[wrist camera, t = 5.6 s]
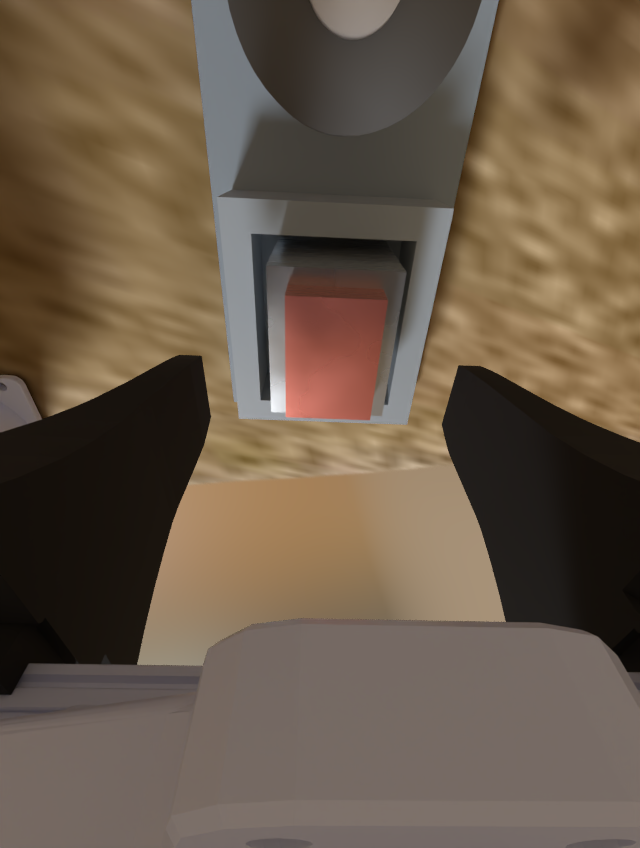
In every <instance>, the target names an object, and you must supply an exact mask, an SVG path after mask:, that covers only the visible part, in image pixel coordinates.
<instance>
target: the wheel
mask: <svg viewBox="0 0 640 848" xmlns="http://www.w3.org/2000/svg"><path fill="white" fill-rule="evenodd" d="M481 1H482V0H228V5H229V10H230V13H231V17H232V20H233V23H234V27H235V30H236V33H237V36H238V38H239V41H240V43H241V46H242V48H243V51H244V53H245V55H246V57H247V59H248V61H249V63H250V65H251V67H252V68H253V70H254V72H255V74H256V75H257V77H258V78H259V80H260V81H261V83H262V84H263V86H264V87H265V88H266V90H267V91H268V92H269V93H270V94H271V95H272V97H273V98H274V99H275V100H276V101H277V102H278V103H279V104H280V105H281V106H282V108H284V109H285V110H286V111H287V112H288V113H289V114H290V115H291V116H292V117H293V118H295V119H296V120H298V121H299V122H301V123H302V124H304V125H305V126H307V127H309V128H311V129H313V130H315V131H318V132H321V133H324V134H328V135H333V136H340V137H350V136H359V135H364V134H369V133H372V132H376V131H378V130H381V129H384V128H387V127H389V126H391V125H393V124H395V123H397V122H398V121H400V120H402V119H404V118H405V117H406V116H408V115H409V114H411V113H412V112H413V111H415V110H416V109H417V108H418V107H419V106H420V105H421V104H423V103H424V102H425V101H426V100H427V99H428V98H429V97H430V96H431V95H432V94H433V92H434V91H435V90H436V89H437V88H438V87H439V85H440V84H441V83H442V82H443V80H444V79H445V77H446V76H447V74H448V73H449V72H450V70H451V69H452V67H453V66H454V64H455V62H456V60H457V59H458V57H459V55H460V53H461V51H462V49H463V48H464V46H465V43H466V41H467V39H468V37H469V34H470V32H471V30H472V27H473V25H474V22H475V19H476V16H477V13H478V10H479V7H480V4H481Z"/></svg>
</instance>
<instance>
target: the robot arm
mask: <svg viewBox="0 0 640 848" xmlns="http://www.w3.org/2000/svg"><path fill="white" fill-rule="evenodd" d="M2 383H3V384H4V385H5V386H4V385H3V384H2ZM210 418H211V415H210V408H209V402H208V395H207V389H206V382H205V375H204V369H203V362H202V356H192V355H178V356H175V357H173V358H171V359H169V360H167V361H165V362H163V363H161V364H159V365H157V366H155V367H154V368H152V369H150V370H148V371H146V372H145V373H143V374H141V375H139V376H137V377H135V378H134V379H132V380H130V381H128V382H126V383H124V384H122V385H120V386H118V387H116V388H114V389H112V390H110V391H108V392H106V393H104V394H102V395H100V396H98V397H96V398H94V399H92V400H90V401H87V402H85V403H83V404H80V405H78V406H76V407H73V408H71V409H68V410H66V411H63V412H60V413H58V414H55V415H53V416H50V417H47V418H44V419H42V418H41V416H40V414H39V412H38V410H37V408H36V406H35V403H34V401H33V399H32V397H31V395H30V393H29V391H28V389H27V386H26V384H25V383H24V381H23V380H22V379H20V378H19V377H17V376H13V375H0V848H640V443H639V442H636V441H634V440H631V439H628V438H626V437H623V436H621V435H618V434H616V433H614V432H611V431H609V430H606V429H604V428H602V427H599V426H597V425H594V424H592V423H590V422H588V421H586V420H583V419H581V418H579V417H577V416H575V415H573V414H571V413H569V412H567V411H565V410H563V409H561V408H559V407H557V406H555V405H553V404H551V403H549V402H548V401H546V400H544V399H542V398H540V397H538V396H536V395H535V394H533V393H531V392H529V391H527V390H526V389H524V388H522V387H520V386H519V385H517V384H515V383H513V382H511V381H510V380H508V379H506V378H504V377H502V376H501V375H499V374H497V373H495V372H493V371H491V370H488V369H486V368H484V367H481V366H461V365H459V366H458V369H457V373H456V376H455V380H454V383H453V387H452V391H451V394H450V398H449V401H448V405H447V408H446V412H445V415H444V419H443V422H442V427H443V431H444V436H445V440H446V444H447V447H448V451H449V454H450V457H451V459H452V461H453V464H454V466H455V468H456V471H457V473H458V476H459V478H460V480H461V482H462V485H463V487H464V489H465V492H466V494H467V496H468V499H469V501H470V503H471V506H472V508H473V510H474V512H475V515H476V517H477V520H478V523H479V525H480V528H481V531H482V534H483V538H484V541H485V544H486V548H487V551H488V554H489V558H490V561H491V565H492V568H493V572H494V576H495V579H496V583H497V587H498V591H499V595H500V599H501V602H502V607H503V612H504V616H505V620H506V622H475V621H422V620H367V619H365V620H364V619H363V620H362V619H313V618H311V619H310V618H300V619H291V620H283V621H274V622H266V623H257V624H251V625H250V626H248V627H246V628H244V629H242V630H240V631H238V632H236V633H234V634H232V635H230V636H228V637H226V638H224V639H222V640H220V641H219V642H217V643H216V644H215V645H213V646H212V647H210V648H209V649H208V651H207V654H206V657H205V660H204V663H203V666H176V665H175V666H172V665H171V666H170V665H137V662H138V658H139V653H140V648H141V643H142V638H143V634H144V629H145V625H146V621H147V616H148V612H149V608H150V604H151V600H152V596H153V591H154V587H155V583H156V580H157V576H158V572H159V568H160V564H161V561H162V557H163V553H164V549H165V546H166V543H167V539H168V536H169V533H170V529H171V525H172V522H173V519H174V517H175V514H176V511H177V508H178V506H179V503H180V501H181V499H182V496H183V494H184V491H185V489H186V487H187V485H188V482H189V480H190V477H191V475H192V473H193V470H194V468H195V466H196V463H197V461H198V458H199V456H200V453H201V451H202V448H203V446H204V443H205V439H206V435H207V431H208V427H209V422H210Z"/></svg>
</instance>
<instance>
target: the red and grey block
mask: <svg viewBox="0 0 640 848" xmlns="http://www.w3.org/2000/svg"><path fill="white" fill-rule="evenodd" d="M406 273H407V272H406V271H405V269H404V268H403V266H402V265H401V263H400V262H399V260H398V259H397V257H396V256H395V255H394V253H393V252H392V250H391V249H390V247H389V246H388V244H387V243H386V241H385V240H377V239H355V238H334V237H313V236H292V235H280V236H279V238H278V241H277V243H276V245H275V247H274V249H273V251H272V254H271V256H270V258H269V260H268V262H267V264H266V280H267V308H268V336H269V364H270V391H271V412H285V413H286V417H294V418H320V419H347V420H370V418H371V416H382V413H383V407H384V402H385V396H386V390H387V384H388V378H389V373H390V367H391V361H392V355H393V349H394V343H395V338H396V332H397V326H398V320H399V314H400V308H401V303H402V297H403V291H404V285H405V279H406Z"/></svg>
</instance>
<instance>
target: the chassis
mask: <svg viewBox="0 0 640 848" xmlns="http://www.w3.org/2000/svg"><path fill="white" fill-rule="evenodd" d="M498 2H499V0H482V1H481V4H480V7H479V10H478V13H477V16H476V19H475V22H474V25H473V27H472V30H471V32H470V34H469V37H468V39H467V41H466V43H465V46H464V48H463V49H462V51H461V53H460V55H459V57H458V59H457V60H456V62H455V64H454V66H453V67H452V69H451V70H450V72H449V73H448V74H447V76H446V77H445V79H444V80H443V82H442V83H441V84H440V85H439V87H438V88H437V89H436V90H435V91H434V92H433V94H432V95H431V96H430V97H429V98H428V99H427V100H426V101H425V102H424V103H423V104H421V105H420V106H419V107H418V108H417V109H416V110H415V111H413V112H412V113H411V114H409V115H408V116H406V117H405V118H404V119H402V120H400V121H398V122H397V123H395V124H393V125H391V126H389V127H387V128H384V129H381V130H378V131H376V132H372V133H369V134H364V135H359V136H350V137H340V136H333V135H328V134H324V133H321V132H318V131H315V130H313V129H311V128H309V127H307V126H305V125H304V124H302V123H301V122H299V121H298V120H296V119H295V118H293V117H292V116H291V115H290V114H289V113H288V112H287V111H286V110H285V109H284V108H282V106H281V105H280V104H279V103H278V102H277V101H276V100H275V99H274V98H273V97H272V95H271V94H270V93H269V92H268V91H267V90H266V88H265V87H264V86H263V84H262V83H261V81H260V80H259V78H258V77H257V75H256V74H255V72H254V70H253V68H252V67H251V65H250V63H249V61H248V59H247V57H246V55H245V53H244V51H243V48H242V46H241V43H240V41H239V38H238V36H237V33H236V30H235V27H234V23H233V20H232V17H231V13H230V10H229V5H228V0H191V3H192V12H193V21H194V31H195V40H196V50H197V59H198V68H199V78H200V87H201V97H202V106H203V115H204V125H205V134H206V144H207V153H208V162H209V172H210V181H211V190H212V200H213V209H214V219H215V228H216V237H217V247H218V256H219V266H220V275H221V284H222V294H223V303H224V313H225V322H226V331H227V341H228V350H229V360H230V369H231V378H232V388H233V397H234V402H237V403H238V413H239V419H266V420H294V421H322V422H350V423H378V424H406V425H407V422H408V417H409V413H410V408H411V404H412V399H413V395H414V390H415V385H416V381H417V376H418V372H419V367H420V363H421V358H422V353H423V349H424V344H425V340H426V335H427V331H428V326H429V321H430V317H431V312H432V308H433V303H434V299H435V294H436V289H437V285H438V280H439V276H440V271H441V267H442V262H443V257H444V253H445V248H446V244H447V239H448V235H449V230H450V225H451V221H452V216H453V212H454V204H455V199H456V195H457V190H458V185H459V181H460V176H461V172H462V167H463V162H464V158H465V153H466V149H467V144H468V139H469V135H470V130H471V126H472V121H473V116H474V112H475V107H476V103H477V98H478V94H479V89H480V84H481V80H482V75H483V71H484V66H485V61H486V57H487V52H488V48H489V43H490V38H491V34H492V29H493V25H494V20H495V15H496V11H497V6H498ZM280 235H292V236H313V237H334V238H355V239H377V240H385V241H386V243H387V244H388V246H389V247H390V249H391V250H392V252H393V253H394V255H395V256H396V257H397V259H398V260H399V262H400V263H401V265H402V266H403V268H404V269H405V271H406V272H407V273H406V279H405V285H404V291H403V297H402V303H401V308H400V314H399V320H398V326H397V332H396V338H395V343H394V349H393V355H392V361H391V367H390V373H389V378H388V384H387V390H386V396H385V402H384V407H383V413H382V416H371V418H370V420H347V419H320V418H294V417H286V413H285V412H271V391H270V364H269V336H268V308H267V280H266V264H267V262H268V260H269V258H270V256H271V254H272V251H273V249H274V247H275V245H276V243H277V241H278V238H279V236H280Z"/></svg>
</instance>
